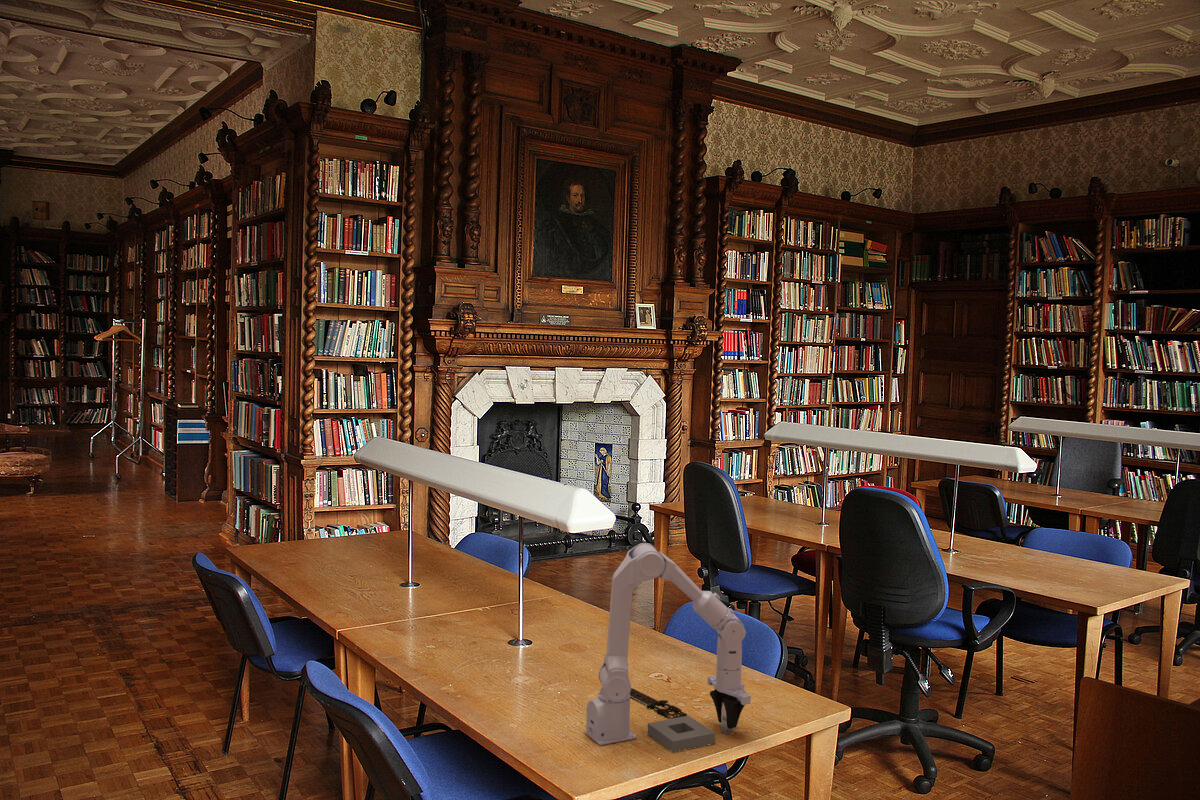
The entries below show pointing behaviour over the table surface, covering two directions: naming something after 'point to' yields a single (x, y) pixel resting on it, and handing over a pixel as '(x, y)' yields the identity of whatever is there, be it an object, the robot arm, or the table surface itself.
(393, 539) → the table surface
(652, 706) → the knife
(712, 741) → the socket block
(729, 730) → the steel pin
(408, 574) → the table surface
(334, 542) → the table surface
